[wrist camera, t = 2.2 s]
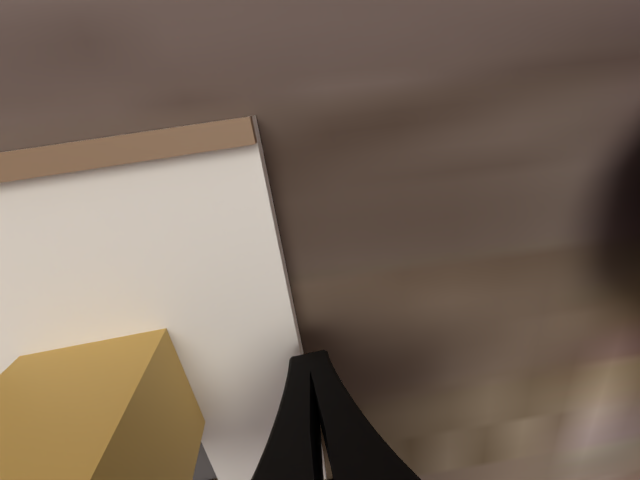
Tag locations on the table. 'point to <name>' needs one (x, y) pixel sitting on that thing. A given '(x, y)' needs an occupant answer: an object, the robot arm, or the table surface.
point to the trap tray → (157, 267)
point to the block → (100, 413)
